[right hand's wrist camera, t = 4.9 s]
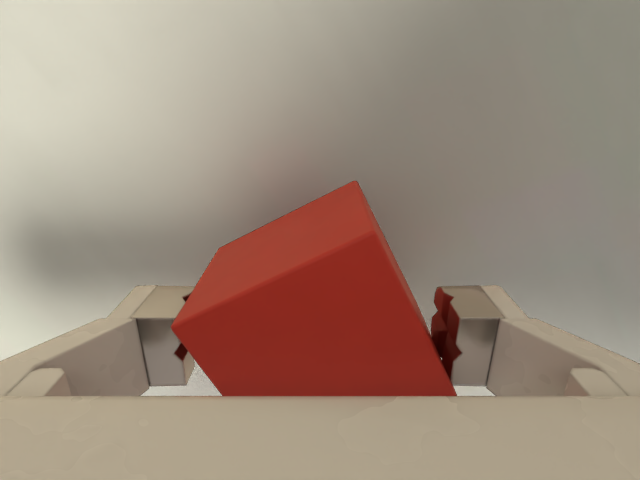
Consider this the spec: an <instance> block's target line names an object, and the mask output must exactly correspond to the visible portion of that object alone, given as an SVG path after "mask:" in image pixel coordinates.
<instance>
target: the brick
mask: <svg viewBox="0 0 640 480" xmlns="http://www.w3.org/2000/svg"><path fill="white" fill-rule="evenodd" d="M171 329H172V331H173V332H174V334H175V335H176V336H177V337H178V339H179V340H180V341H181V343H182V344H183V345H184V347H185V348H186V349H187V350H188V352H189V353H190V354H191V356H192V357H193V358H194V360H195V361H196V362H197V363H198V365H199V366H200V367H201V369H202V370H203V371H204V372H205V374H206V375H207V376H208V378H209V379H210V380H211V382H212V383H213V384H214V385H215V387H216V388H217V389H218V391H219V392H220V393H221V395H222V396H457V394H456V392H455V389H454V387H453V385H452V383H451V381H450V379H449V377H448V374H447V372H446V370H445V367H444V365H443V363H442V360H441V357H440V356H439V353H438V351H437V349H436V347H435V345H434V342H433V340H432V338H431V335H430V332H429V330H428V328H427V325H426V323H425V321H424V319H423V316H422V314H421V312H420V309H419V307H418V305H417V303H416V300H415V298H414V296H413V294H412V292H411V290H410V288H409V286H408V284H407V282H406V280H405V278H404V276H403V274H402V272H401V270H400V268H399V266H398V264H397V262H396V260H395V258H394V255H393V253H392V251H391V249H390V247H389V245H388V243H387V241H386V239H385V237H384V235H383V233H382V231H381V229H380V227H379V225H378V223H377V221H376V219H375V217H374V215H373V213H372V210H371V208H370V206H369V204H368V202H367V200H366V198H365V196H364V194H363V192H362V190H361V188H360V186H359V184H358V182H357V181H352V182H350V183H348V184H346V185H344V186H342V187H340V188H338V189H336V190H334V191H332V192H330V193H328V194H326V195H324V196H322V197H320V198H318V199H316V200H314V201H312V202H310V203H308V204H306V205H304V206H302V207H300V208H298V209H296V210H294V211H292V212H290V213H288V214H286V215H284V216H282V217H280V218H278V219H276V220H274V221H272V222H270V223H268V224H266V225H264V226H262V227H260V228H258V229H256V230H254V231H252V232H250V233H248V234H246V235H244V236H242V237H240V238H238V239H236V240H234V241H232V242H230V243H228V244H226V245H224V246H222V247H220V248H219V249H218V251H217V252H216V254H215V256H214V257H213V259H212V260H211V262H210V264H209V265H208V267H207V268H206V270H205V272H204V273H203V275H202V276H201V278H200V280H199V281H198V283H197V285H196V286H195V288H194V290H193V292H192V293H191V294H190V296H189V297H188V299H187V301H186V303H185V305H184V306H183V308H182V309H181V311H180V313H179V314H178V316H177V317H176V319H175V320H174V322H173V323H172V325H171Z"/></svg>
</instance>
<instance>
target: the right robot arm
mask: <svg viewBox="0 0 640 480" xmlns="http://www.w3.org/2000/svg"><path fill="white" fill-rule="evenodd" d="M194 288H195V286H158V285H148V286H136V287H135V288H134V289H133V290H132V291H131V292H130V293H129V294H128V295H127V297H126V298H125V299H124V300H123V301H122V302H121V303H120V304H119V305H118V306H117V307H116V309H115V310H114V311H113V312H112V313H111V314H110V315H109V316H108V317H107V318H106V319H97V320H95V321H93V322H90V323H88V324H86V325H84V326H81V327H79V328H77V329H74V330H72V331H70V332H67V333H65V334H63V335H60V336H58V337H56V338H53V339H51V340H49V341H46V342H44V343H42V344H39V345H37V346H35V347H32V348H30V349H28V350H25V351H23V352H21V353H18V354H16V355H14V356H11V357H9V358H7V359H4V360H2V361H0V480H640V364H639V363H637V362H635V361H632V360H630V359H628V358H625V357H623V356H621V355H619V354H616V353H614V352H612V351H609V350H607V349H605V348H602V347H600V346H598V345H596V344H593V343H591V342H589V341H586V340H584V339H582V338H579V337H577V336H575V335H573V334H570V333H568V332H566V331H563V330H561V329H559V328H556V327H554V326H552V325H550V324H547V323H545V322H543V321H540V320H538V319H529V318H528V317H527V315H526V314H525V313H524V312H523V311H522V310H521V309H520V308H519V307H518V305H517V304H516V303H515V302H514V301H513V300H512V299H511V298H510V297H509V295H508V294H507V293H506V292H505V291H504V290H503V289H502V288H501V287H500V286H497V285H489V286H440V287H437V289H436V292H435V297H434V304H435V306H436V308H437V310H438V312H437V313H436V314H435V315H434V316H433V317H432V323H431V338H432V340H433V342H434V345H435V347H436V349H437V351H438V353H439V356H440V357H441V358H442V363H443V365H444V367H445V370H446V372H447V374H448V377H449V379H450V381H451V383H452V385H454V386H487V387H486V388H487V389H488V390H489V391H491V392H492V393H493V394H494V395H496V396H140V395H142V394H143V393H144V392H145V391H147V390H148V389H149V386H180V385H187V382H188V380H189V378H190V376H191V374H192V371H193V369H194V367H195V363H194V358H193V357H192V356H191V354H190V353H189V352H188V350H187V349H186V348H185V347H184V345H183V344H182V343H181V341H180V340H179V339H178V337H177V336H176V335H175V334H174V332H173V331H172V329H171V325H172V323H173V322H174V320H175V319H176V317H177V316H178V314H179V313H180V311H181V309H182V308H183V306H184V305H185V303H186V301H187V299H188V297H189V296H190V294H191V293H192V292H193V290H194Z"/></svg>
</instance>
